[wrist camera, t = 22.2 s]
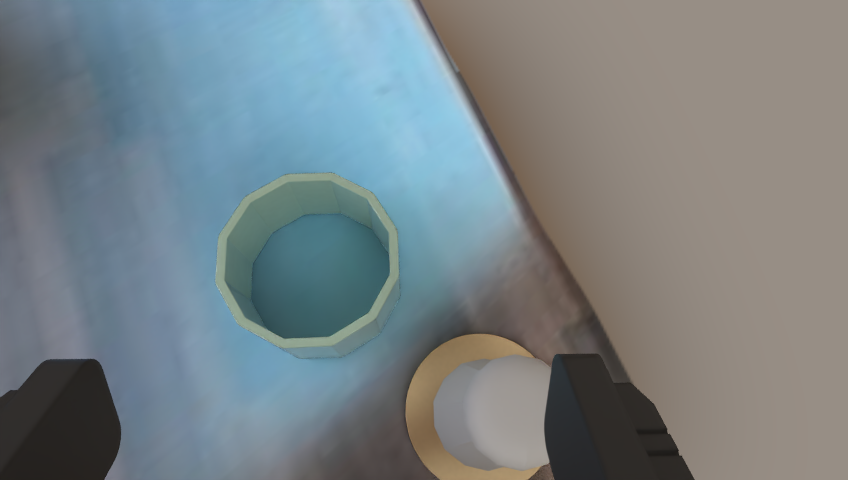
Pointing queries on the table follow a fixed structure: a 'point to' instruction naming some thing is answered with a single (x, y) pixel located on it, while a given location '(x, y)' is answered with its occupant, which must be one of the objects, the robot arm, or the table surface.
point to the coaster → (421, 408)
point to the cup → (277, 210)
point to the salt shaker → (495, 413)
